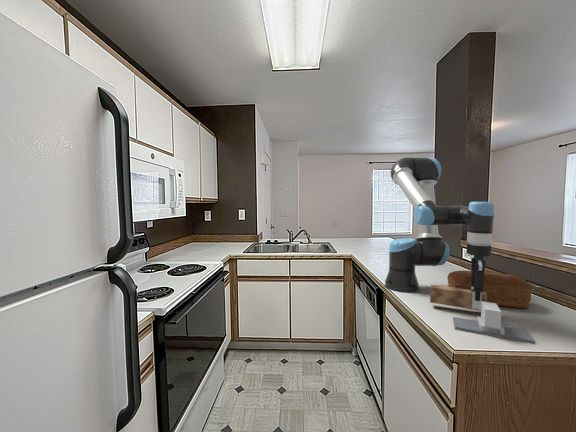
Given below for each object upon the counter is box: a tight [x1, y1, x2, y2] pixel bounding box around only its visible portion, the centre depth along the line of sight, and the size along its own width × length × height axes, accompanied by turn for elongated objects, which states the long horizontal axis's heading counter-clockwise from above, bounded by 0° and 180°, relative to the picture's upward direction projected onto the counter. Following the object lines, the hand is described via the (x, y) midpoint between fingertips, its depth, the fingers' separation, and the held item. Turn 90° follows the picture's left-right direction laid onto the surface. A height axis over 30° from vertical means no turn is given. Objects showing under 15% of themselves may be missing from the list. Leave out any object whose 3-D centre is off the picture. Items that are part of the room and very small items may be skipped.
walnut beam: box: [429, 284, 487, 312], centre depth 107 cm, size 18×4×6 cm, turn 62°
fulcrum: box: [452, 301, 536, 344], centre depth 90 cm, size 20×9×8 cm, turn 63°
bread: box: [446, 270, 533, 309], centre depth 117 cm, size 14×28×12 cm, turn 71°
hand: (475, 306), depth 105 cm, fingers closed on walnut beam, 4 cm apart
